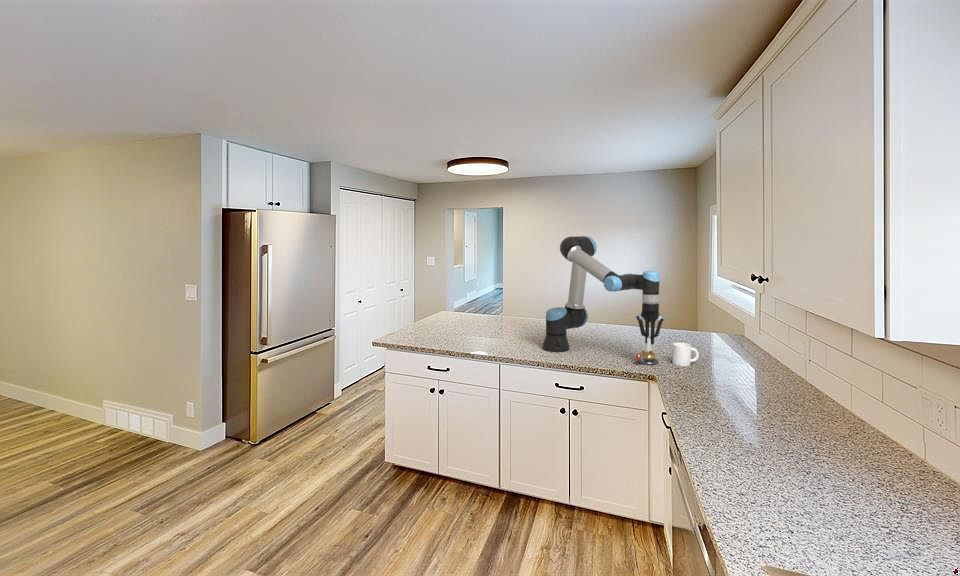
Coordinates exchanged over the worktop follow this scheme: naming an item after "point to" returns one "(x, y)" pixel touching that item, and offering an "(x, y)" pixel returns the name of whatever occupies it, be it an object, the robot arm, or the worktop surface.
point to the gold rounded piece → (645, 356)
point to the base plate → (649, 362)
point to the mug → (683, 354)
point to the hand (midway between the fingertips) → (649, 350)
